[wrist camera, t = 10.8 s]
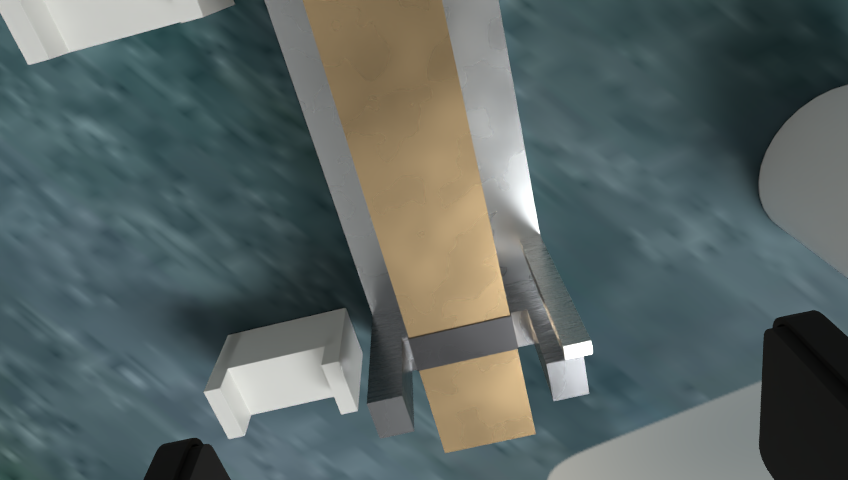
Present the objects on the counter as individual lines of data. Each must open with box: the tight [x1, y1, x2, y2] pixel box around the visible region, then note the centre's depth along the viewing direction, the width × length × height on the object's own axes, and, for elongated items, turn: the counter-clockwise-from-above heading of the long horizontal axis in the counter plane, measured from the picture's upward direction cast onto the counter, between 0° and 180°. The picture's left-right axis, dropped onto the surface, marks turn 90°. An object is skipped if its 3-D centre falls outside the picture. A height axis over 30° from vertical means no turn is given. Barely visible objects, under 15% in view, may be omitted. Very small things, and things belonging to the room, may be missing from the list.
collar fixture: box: [265, 0, 593, 439], centre depth 23 cm, size 22×9×9 cm, turn 14°
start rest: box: [0, 0, 363, 439], centre depth 26 cm, size 21×6×4 cm, turn 14°
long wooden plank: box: [303, 0, 536, 453], centre depth 23 cm, size 23×4×4 cm, turn 14°
